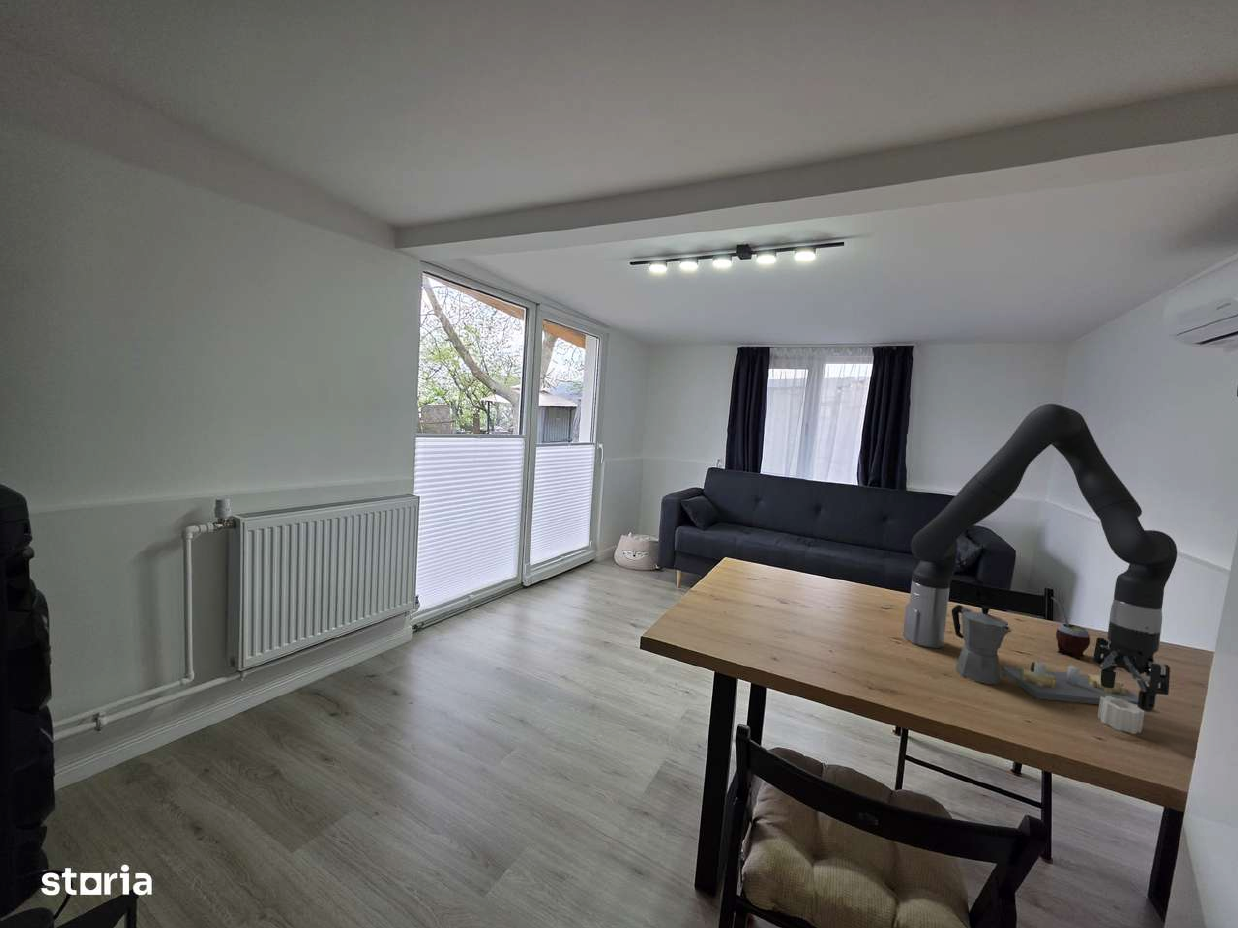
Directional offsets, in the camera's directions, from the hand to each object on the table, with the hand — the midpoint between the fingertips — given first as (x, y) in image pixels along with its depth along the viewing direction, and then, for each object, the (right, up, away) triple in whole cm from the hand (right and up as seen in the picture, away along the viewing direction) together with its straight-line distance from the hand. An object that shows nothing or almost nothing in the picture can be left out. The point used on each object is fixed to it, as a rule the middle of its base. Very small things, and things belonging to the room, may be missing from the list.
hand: (1125, 697), depth 105 cm
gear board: (+2, -5, +14) cm, 15 cm away
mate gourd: (+20, -4, +35) cm, 40 cm away
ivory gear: (-1, -6, +1) cm, 6 cm away
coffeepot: (-18, -4, +20) cm, 27 cm away
